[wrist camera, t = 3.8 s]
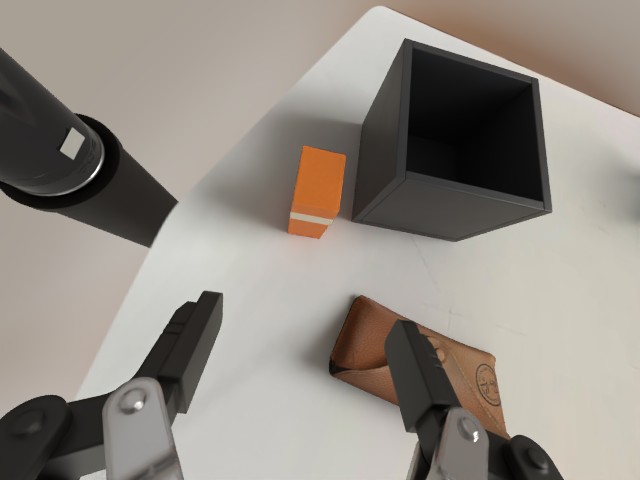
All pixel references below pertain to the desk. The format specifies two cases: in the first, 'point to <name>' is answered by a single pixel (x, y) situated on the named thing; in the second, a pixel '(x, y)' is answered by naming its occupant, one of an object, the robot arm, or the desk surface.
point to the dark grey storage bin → (451, 148)
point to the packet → (316, 192)
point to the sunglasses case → (457, 359)
